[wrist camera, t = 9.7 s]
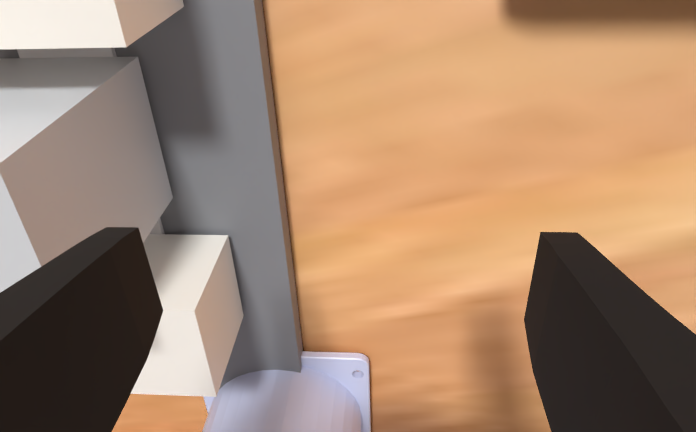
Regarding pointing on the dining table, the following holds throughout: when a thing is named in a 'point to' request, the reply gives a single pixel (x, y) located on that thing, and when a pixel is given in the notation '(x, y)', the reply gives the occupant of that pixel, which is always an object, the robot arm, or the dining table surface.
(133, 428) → the dining table surface
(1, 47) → the mounted modules
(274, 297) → the rail board
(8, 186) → the block
